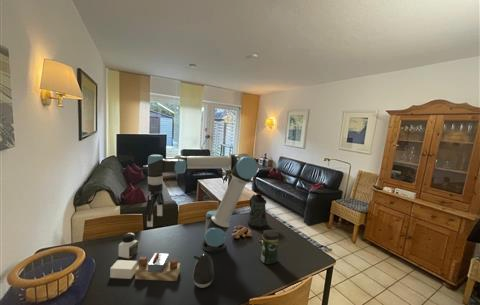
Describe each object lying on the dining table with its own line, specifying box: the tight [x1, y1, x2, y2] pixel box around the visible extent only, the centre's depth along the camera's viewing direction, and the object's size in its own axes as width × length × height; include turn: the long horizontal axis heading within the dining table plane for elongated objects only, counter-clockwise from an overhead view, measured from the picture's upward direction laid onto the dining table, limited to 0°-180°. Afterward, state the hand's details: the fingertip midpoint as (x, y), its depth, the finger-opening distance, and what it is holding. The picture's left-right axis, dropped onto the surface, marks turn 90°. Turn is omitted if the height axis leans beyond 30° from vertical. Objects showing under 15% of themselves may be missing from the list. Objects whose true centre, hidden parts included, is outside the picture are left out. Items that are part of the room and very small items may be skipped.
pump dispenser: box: [192, 253, 215, 289], centre depth 100 cm, size 10×10×15 cm
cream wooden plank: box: [134, 256, 181, 282], centre depth 104 cm, size 20×6×9 cm, turn 92°
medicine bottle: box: [118, 232, 139, 259], centre depth 119 cm, size 7×7×12 cm
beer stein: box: [246, 193, 268, 230], centre depth 169 cm, size 16×19×25 cm
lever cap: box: [148, 252, 170, 273], centre depth 103 cm, size 7×9×5 cm
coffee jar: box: [260, 229, 280, 265], centre depth 122 cm, size 10×8×19 cm
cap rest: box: [109, 259, 138, 280], centre depth 103 cm, size 10×6×5 cm, turn 92°
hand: (155, 220), depth 114 cm, fingers open, 13 cm apart
